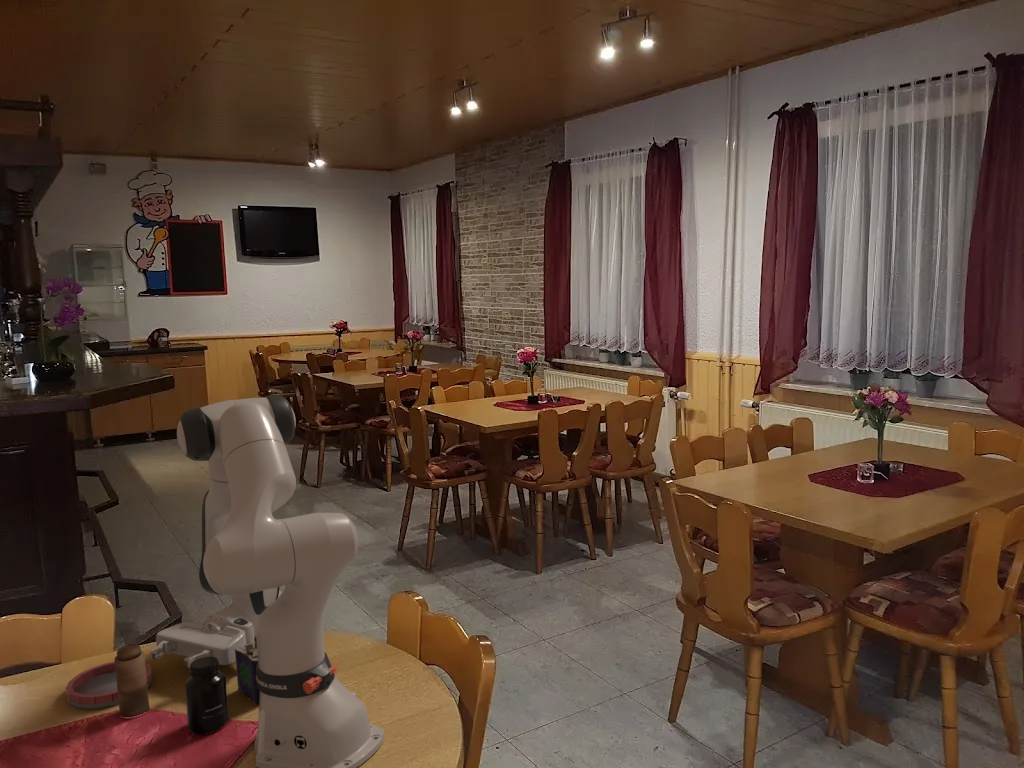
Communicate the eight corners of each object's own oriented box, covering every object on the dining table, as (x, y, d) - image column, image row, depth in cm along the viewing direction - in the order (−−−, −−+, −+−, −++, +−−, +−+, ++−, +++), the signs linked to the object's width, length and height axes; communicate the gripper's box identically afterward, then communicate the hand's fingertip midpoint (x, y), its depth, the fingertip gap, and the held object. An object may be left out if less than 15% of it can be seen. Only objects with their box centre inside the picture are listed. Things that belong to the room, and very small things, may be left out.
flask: (235, 691, 153) (231, 639, 151) (249, 685, 155) (246, 634, 154) (257, 707, 146) (253, 653, 145) (272, 701, 148) (268, 648, 147)
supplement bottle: (215, 737, 137) (209, 672, 135) (180, 734, 138) (174, 670, 137) (236, 716, 143) (231, 654, 142) (203, 713, 145) (197, 652, 143)
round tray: (168, 679, 158) (167, 667, 158) (101, 716, 145) (100, 703, 145) (118, 666, 165) (117, 655, 165) (50, 700, 152) (49, 688, 151)
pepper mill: (155, 707, 147) (149, 646, 146) (132, 721, 143) (126, 658, 142) (137, 702, 150) (131, 642, 148) (114, 715, 145) (107, 653, 144)
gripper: (187, 610, 170) (131, 636, 157) (257, 624, 161) (205, 653, 148) (189, 638, 170) (134, 665, 158) (260, 653, 161) (207, 684, 149)
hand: (169, 659), depth 153 cm, fingers open, 8 cm apart
